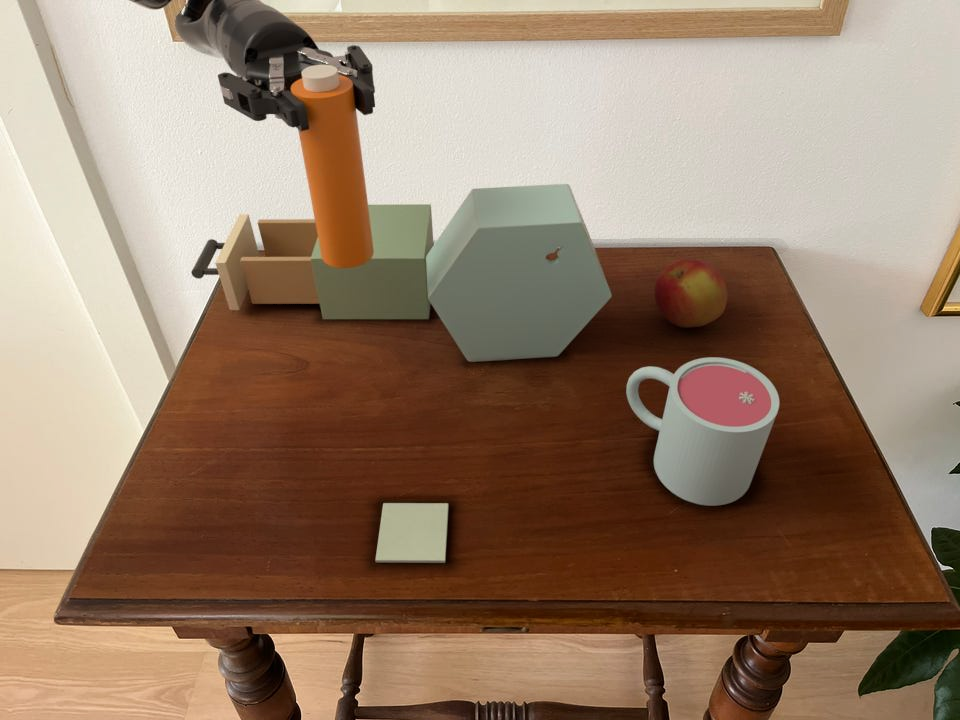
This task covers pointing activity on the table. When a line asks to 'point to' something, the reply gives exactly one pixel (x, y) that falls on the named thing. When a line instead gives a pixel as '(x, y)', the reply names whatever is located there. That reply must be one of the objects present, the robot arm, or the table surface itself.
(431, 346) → the table surface
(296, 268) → the drawer
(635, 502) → the table surface
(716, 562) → the table surface
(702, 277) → the apple
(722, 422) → the mug
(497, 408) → the table surface
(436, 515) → the coaster
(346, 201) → the juice bottle
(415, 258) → the cabinet
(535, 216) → the pale green hexagonal block
